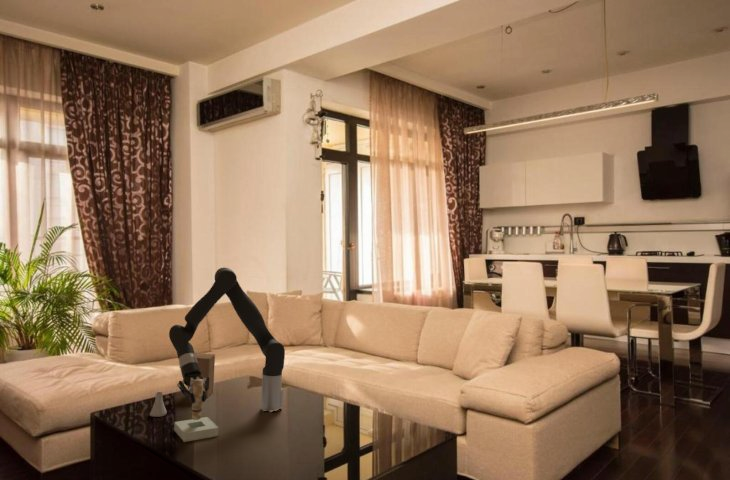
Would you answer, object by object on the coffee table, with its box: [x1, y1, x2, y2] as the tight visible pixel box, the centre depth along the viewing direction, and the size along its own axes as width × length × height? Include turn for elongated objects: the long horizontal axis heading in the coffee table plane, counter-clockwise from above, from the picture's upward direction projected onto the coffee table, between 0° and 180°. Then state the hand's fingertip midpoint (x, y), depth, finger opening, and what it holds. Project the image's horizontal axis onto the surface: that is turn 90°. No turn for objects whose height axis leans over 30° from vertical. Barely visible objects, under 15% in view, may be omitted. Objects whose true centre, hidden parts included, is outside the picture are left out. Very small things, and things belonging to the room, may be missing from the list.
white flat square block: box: [173, 416, 220, 443], centre depth 227 cm, size 14×14×4 cm
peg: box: [190, 379, 203, 420], centre depth 227 cm, size 4×4×16 cm
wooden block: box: [187, 352, 216, 399], centre depth 278 cm, size 10×10×20 cm
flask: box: [149, 391, 168, 418], centre depth 247 cm, size 7×7×10 cm
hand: (199, 401), depth 226 cm, fingers closed on peg, 4 cm apart
